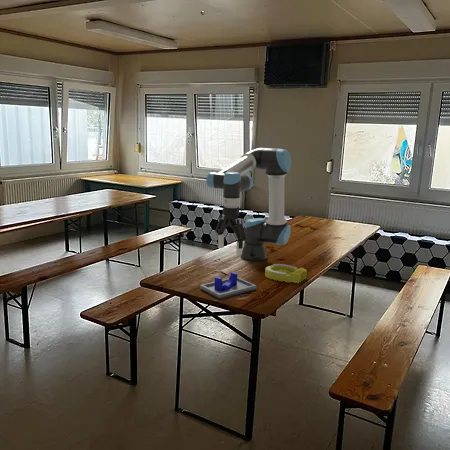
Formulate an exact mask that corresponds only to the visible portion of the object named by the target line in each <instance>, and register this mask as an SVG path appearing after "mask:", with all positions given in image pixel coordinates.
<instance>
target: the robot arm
mask: <svg viewBox="0 0 450 450" xmlns="http://www.w3.org/2000/svg"><path fill="white" fill-rule="evenodd" d="M291 168H292V157H291V154H290V152H289V151H288V150H287V149H284V148H283V149H282V148H277V147H276V148H275V147H274V148H269V147H258V148H255V149H251V150H249V151H246V152H245V153H243V154H242V155H241V157H240V158H238V160H235V161H234V162H232V163H230V164H229V165H228V166H226V167H224V168H222V169H221V170H220V171H217V172H215V171H213V172H211V171H210V172H209V173H207V175H206V179H205V183H206V185H207V187H209V188H212V189H221V190H223V192H222V193H223V199H222V206H223V207H222V214H219V219H218V221H217V224H216V227H215V228H214V229H215V230H214V232H215V233H216V234H217V248H218V249H224V245H225V244H224V242H225V235H224V234H225V231H226V229H228V227H229V228H231V229H232V231H233V232H234V235H235V237H236V239H237V241H236V250H235V251H236V252H235V255H236V256H240V258H241V259H242V260H245V261H251V262H260V261H261V262H262V261H265V260H266V259H267V252H266V247H265V243H268V244H274V245H278V246H279V245H281V246H283V245H286V244H287V242H288V241H289V239H290V237H291V232H292V228H291V225H289V224H288V220H287V219H286V218H285V178H286V176H287V175H288V172H290V171H291ZM253 170H265V175H266V176H267V177H268V218H267V219H266V218H262V217H257V218H256V217H255V218H249V219H246V220H245V223H243V219H242V218H240V219H239V218H238V216H240V202H241V196H240V195H241V192H246V191H248V190H250V189H251V188H253V186H254V180H253V177H252V176H251V175H249V174H245V173H247V172H251V171H253Z"/></svg>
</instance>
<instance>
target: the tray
mask: <svg viewBox="0 0 450 450" xmlns="http://www.w3.org/2000/svg"><path fill="white" fill-rule="evenodd" d="M229 278H230V277H228V278H224V279H222V283H223V284H224V283H226V282H227V281H228V280H229ZM199 288H200V290H201V291H204V292H205V293H207V294H209V295H211V296H212V297H215V298H217V299H219V300H221V299H225V298H228V297H229V298H230V297H232V296H236V295H237V296H238V295H240V294H244V293H248V292H252V291H256V290H257V285H256V284H254V283H253V282H249V281H247V280H245V279H244V278H241V277H238V276H237V286H233V287H230V289H229V290H226V291H223V292H220V291H217V290H215V281H211V282H208V283H203V284H200V287H199Z"/></svg>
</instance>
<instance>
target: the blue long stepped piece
mask: <svg viewBox="0 0 450 450" xmlns="http://www.w3.org/2000/svg"><path fill="white" fill-rule="evenodd" d="M237 277H238V273H237V272H234V271H231V272H230V275H229V277H228V278H229V280H228V281H227V282H226V283H224V284H223V283H222V280H223V279H222V278H221V277H219V276H215V277H214V282H215V290H217V291H220V292H223V291H226V290H229V289H230V287H233V286H237Z"/></svg>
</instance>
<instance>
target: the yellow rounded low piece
mask: <svg viewBox="0 0 450 450" xmlns="http://www.w3.org/2000/svg"><path fill="white" fill-rule="evenodd" d="M307 272H308V270H307V269H305V268H303V267H300V268H298V267H295V266H294V265H290V264H284V263H273V264H272V265H268V266H266V267H265V271H264V275H265V277H266V278H268V279H270V280H272V279H273V281H277V280H278V282H283V281H285V282H284V283H291V282H293V284H300V283H301V281H302V282H303V280H304V279H305V280H307ZM305 280H304V281H305ZM299 282H300V283H299Z"/></svg>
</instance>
